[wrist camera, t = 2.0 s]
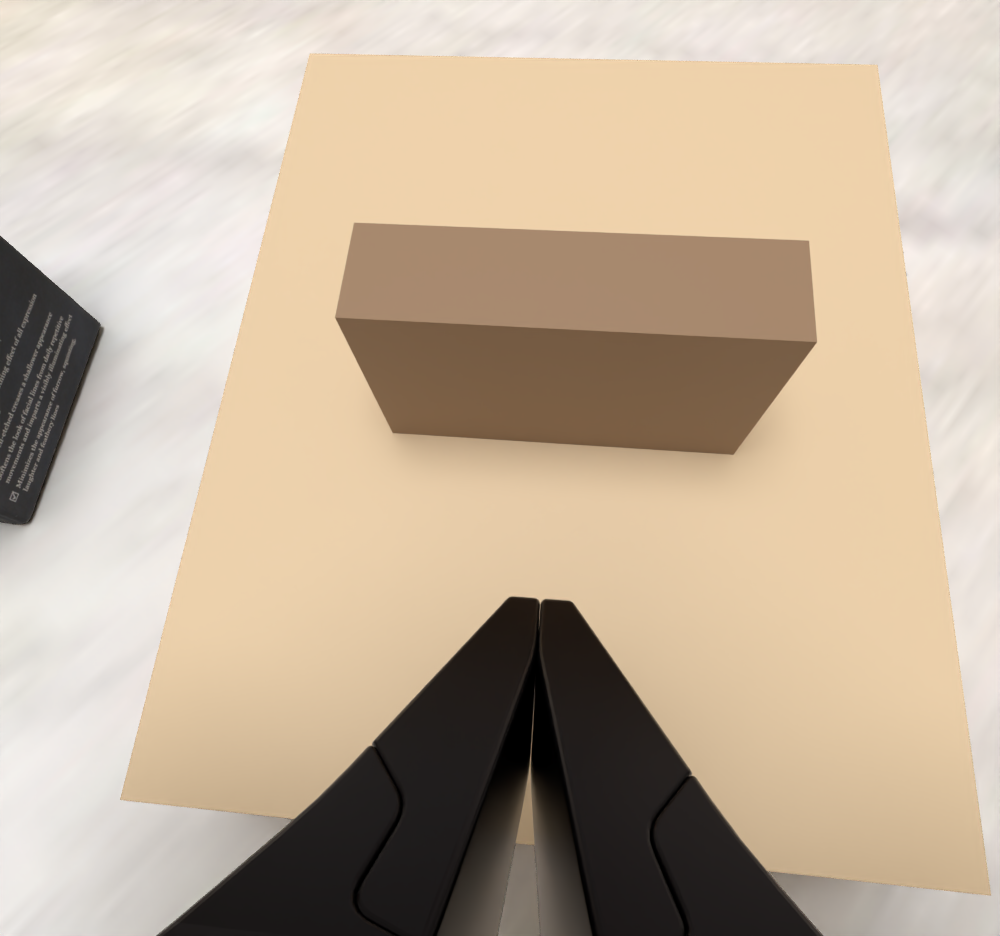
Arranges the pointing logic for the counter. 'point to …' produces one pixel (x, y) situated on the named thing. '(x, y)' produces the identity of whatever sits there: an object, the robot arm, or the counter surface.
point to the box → (35, 376)
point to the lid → (583, 447)
